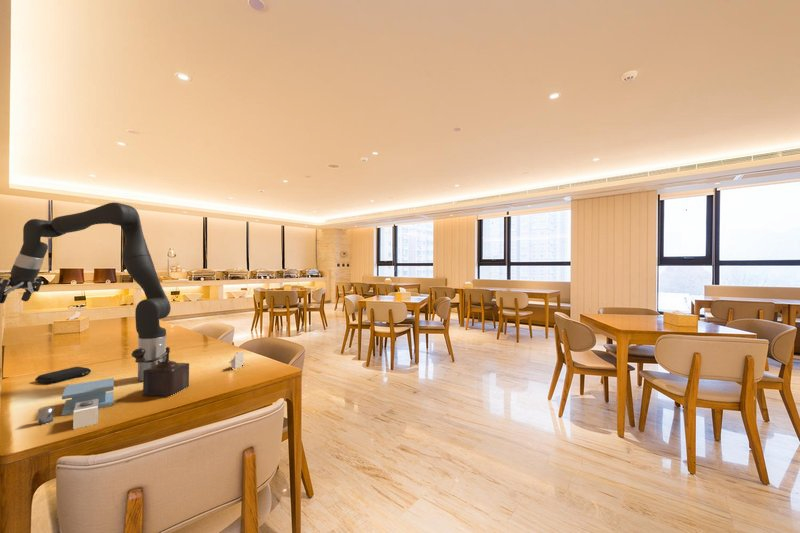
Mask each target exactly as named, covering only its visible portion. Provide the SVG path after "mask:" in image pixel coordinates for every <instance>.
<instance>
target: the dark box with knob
mask: <svg viewBox="0 0 800 533" xmlns="http://www.w3.org/2000/svg"><path fill="white" fill-rule="evenodd" d="M145 353H146V350H145V349H142V348H138V347H137V348H135V349H134V350H133V351H132V352H131V357H133V358H134V359H135V360H134V362H135V363H137V364H138V363H139V362H142V363H150V362H154V361H157V360H159V359H161V358H163V357H164V356H166V360H165V361H163V362H160V361H158V364H156V365H153V366H152V367H151V368H148V369H146V370H144V371H143V381H142V382H143V383H142V396H143V397H144V396H145V397H153V398H154V397H155V398H167V397H166V396H170V397H172V396H174V395H176V394H178V393H180V392H182V391H184V390H185V389H187V388H189V387H190V363H189V362H176V361H174V360H170V353H171V348H170V347H169V346H166V352H165V353H164V354H163V355H162V356H160V357H158V358H155V359H153V360H145V358H144V354H145ZM188 386H189V387H188ZM186 387H187V388H186ZM184 388H185V389H184ZM183 389H184V390H183ZM181 390H182V391H181ZM179 391H180V392H179ZM177 392H178V393H177ZM175 393H176V394H175ZM173 394H174V395H173ZM171 395H172V396H171Z"/></svg>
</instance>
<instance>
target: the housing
mask: <svg viewBox="0 0 800 533" xmlns="http://www.w3.org/2000/svg"><path fill="white" fill-rule="evenodd" d="M98 403H99V399H94V400H89V401H83V402H78V403H76V405H75V409H74V413H72V414H73V418H72V419H73V420H72V424H73V425H72V429H74V430H78V429H82V428H86V427H85V426H87V427H90V426H89V425H91V426H94V425H93V424H96V425H98V421H99V419H98V418H99V408H98ZM81 427H82V428H81ZM77 428H78V429H77Z"/></svg>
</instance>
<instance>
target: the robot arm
mask: <svg viewBox="0 0 800 533" xmlns="http://www.w3.org/2000/svg"><path fill="white" fill-rule="evenodd" d="M141 222H142V221H141V219H140V215H139V212H138V210H137V209H136V208H135V207H133V206H131V205H128V204H124V203H120V202H109V203H105V204H102V205H99V206H97V207H94V208H91V209H88V210H86V211H85V210H84V211H81V212H77V213H72V214H65V215H61V216H56V217H54V218H53V219H52V220H47V219H46V220H44V219H40V218H38V219H37V218H32V219H30V220H29V219H28V220H27V221H26V222H25V224H24V225H23V230H22V231H23V232H22V234H23V235H22V236H23V238H22V243H23V244H22V246H21V248H20V250H19V253H18V254H17V256H16V258H15V260H14V263H13V265H12V267H11V270H10V272H9V273H10V277H8V278H4V277H0V304H5V302H6V300H7V298H8V294H10V293H11V292H13V291H15V290H19V289H23V290H24V292H23V294H22V297H21V301H23V302H28V301H29V300H30V298H31V296H32V294H33V293H35V292H40V291H39V290H40V288H41V285H42V282H43V278H41V277H38V276H39V273H40V270H41V268H42V266H43V264H44V260H45V256H46V254H47V252H48V250H49V245H48V243H45V242H43V241H41V238H57V237H62V236H63V235H66V234H70V233H75V232H79V231H80V232H81V231H84V230H85V229H89V228H90V227H91V226H94V225H102V224H103V225H104V224H107V225H108V224H109V225H110V224H111V225H114V226H119V227H121V230H122V232H123V235H124V238H125V239H124V240H125V242H124V246H123V250H122V255H121V256H122V260H123V264H124V267H125V269H126V271H127V273H128V275H129V276H130V277H131V278H132V280H134V281H135V283H136V284H137V285H139V286H140V288H141V289H142V291H143V293H144V295H145V299H142V300H141V301H139V302H138V303H137V305H136V307H135V312H134V313H135V314H134V315H135V316H134V317H135V330H136V332H137V334H138V338H137V339H138V340H137V341H138V342H137V343H138V345H137V349H138V348H142V349H145V350H146V353H145V354H144V358H145V360H153V359H155V358H158V357H160V356H162V355H163V354H164V353H165V352H166V348H167V329H166V328H164V327H162V326H160V320H161V319H165V318H167V317H168V316H169V315H170V313H171V303H170V301H169V299H168V297H167V294H166V293H165V292H166V291H164V288H163V287H162V284H161V282H160V278H159V276H158V274H157V271H156V269H155V263H154V262H153V260H152V255H151V253H150V251H149V247H148V244H147V242H146V239H145V236H144V233H143V227H142V224H141ZM165 360H166V356H164V357H163V358H161V359H159V360H157V361H154V362H150V363H142V362H139V363H137V381H139V382H143V371H144V370H146V369H148V368H151V367H152V366H153V365H156V364H158V361H160V362H163V361H165Z"/></svg>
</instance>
